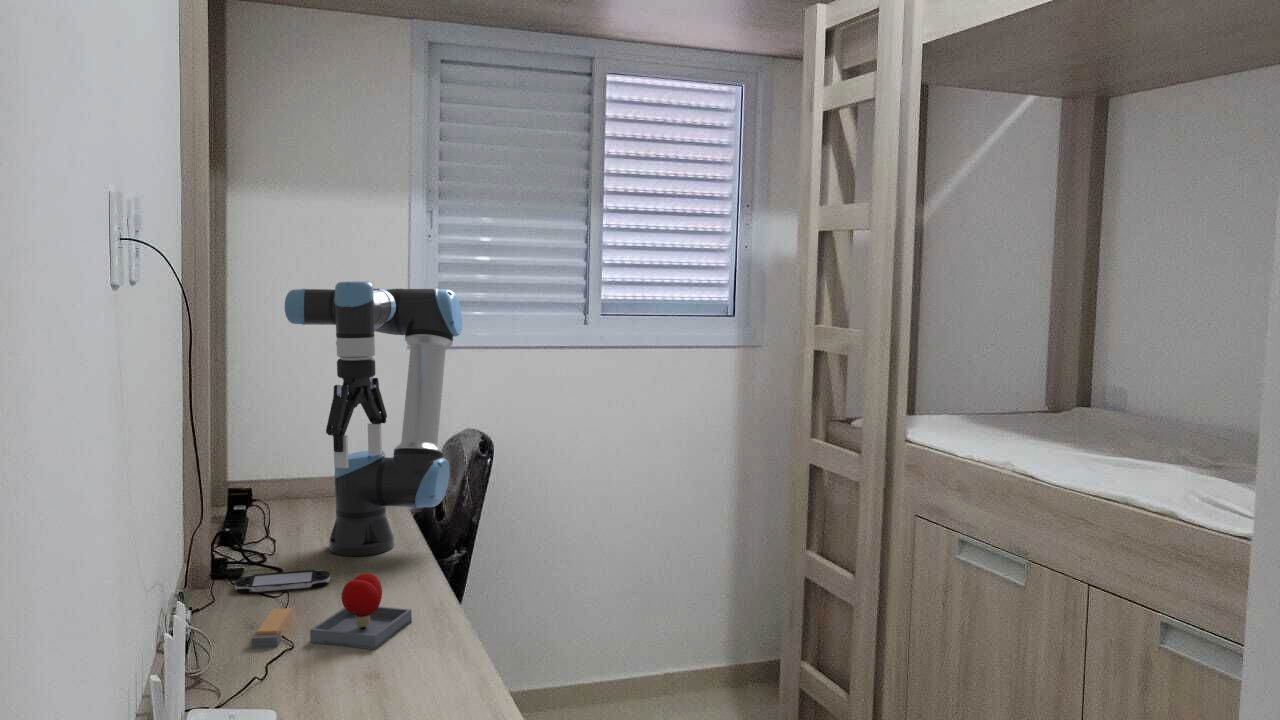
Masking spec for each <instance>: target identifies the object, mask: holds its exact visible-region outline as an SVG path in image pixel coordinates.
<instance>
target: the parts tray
mask: <svg viewBox="0 0 1280 720" xmlns="http://www.w3.org/2000/svg"><path fill="white" fill-rule="evenodd" d="M412 614H413V613H412V609H408V608H399V607H398V608H397V607H386V606H379V607H378V609H377V610H376V611H375V612H374V613H373V614H370V624H369V625H368V626H367V627H366V628H365V629H360V628H359V627H358V626H356V623H355V622H356V621H355V620H356V619H355V614H354V613H351V612H349V611H348V610H346V608H345V607H344V606H343V608H341V609H340V610H338V611H336V612H335V613H333V614H331V616H329V617H327V618H326V619H324V620H323V621H321V622H319V623H318V624H316V625H315V626H313V627H312V628H310V629H309V635H310V636H309V638H310V643H311V644H321V645H328V646H329V645H330V646H331V645H332V646H340V647H347V648H348V647H349V648H359V649H367V650H368V649H369V650H377V649H379V647H381V646H383V645H384V644H385V643H386V642H387V641H389V640H390V639H391V638H393V637H394V636H396V635H397V634H398V633H399V632H401V631H402V630H404V629H405V628H406V627H407V626H408V625H410V624H411V623H413V622H412Z"/></svg>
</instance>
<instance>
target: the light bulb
mask: <svg viewBox="0 0 1280 720" xmlns="http://www.w3.org/2000/svg"><path fill="white" fill-rule="evenodd" d="M382 596H383V588H382V584H381V581H380V579H379V578H378V577H377V576H376V575H375V574H374V573H371V572H365V573H364V572H362V573H360V574H358V575H357V576H355V577H354V578H353V579H350V580H349V581H347V582H346V583H345V585H344V587H343V589H342V591H341V602H342V606H343V608H344V607H345V608H346V610H348V611H349V612H351V613H354V614H355V619H356V620H355V621H356V622H355V623H356V626H358V627H359V628H360V629H365V628H366V627H367V626H368V625H369V624H370V614H373V613H374V612H375V611H376V610H377V609H378V607H380V604H381V601H382V598H383V597H382Z"/></svg>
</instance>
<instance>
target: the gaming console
mask: <svg viewBox="0 0 1280 720" xmlns="http://www.w3.org/2000/svg"><path fill="white" fill-rule="evenodd" d="M330 580H331V572H329V571H328V570H323V569H309V570H307V569H305V570H294V571H283V572H282V571H281V572H269V573H268V572H267V573H258V574H257V573H255V574H249V575H244V576H241V577H239V578H237V579H236V580H235V581H234V590H236V592H238V593H239V594H245V595H252V594H265V593H269V594H270V593H279V592H280V593H282V592H283V593H284V592H291V591H292V592H294V591H304V590H313V589H314V590H315V589H319V588H322V587H326V586H327V584H329V583H330Z"/></svg>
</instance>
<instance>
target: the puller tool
mask: <svg viewBox="0 0 1280 720" xmlns="http://www.w3.org/2000/svg"><path fill="white" fill-rule="evenodd" d="M292 621H293V608H292V607H289V608H288V607H287V608H285V607H284V608H273V609H272V610H271V611H270V613H269V614H268V616H266V618H265V620H264V621H263V623H262V624H261V625H260V626H259V627H258V629H257V631H256V632H255V633H254V634H253V636H252V637H251V648H252V649H272V648H273V649H274V648H278V647H279V645H280V643H281V642H282V637H283V635H284V634H285V632H286V631H287V629H288V627H289V626H290V624H291V623H292Z"/></svg>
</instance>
